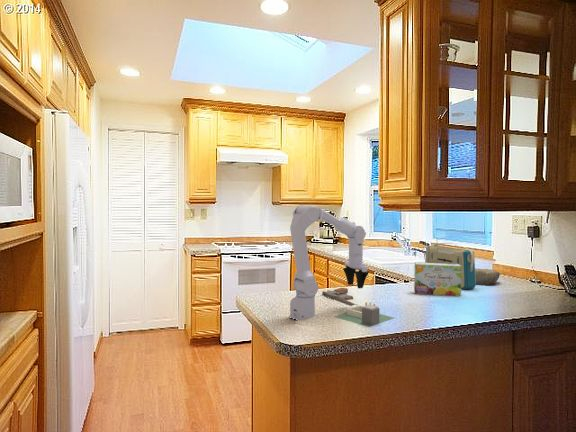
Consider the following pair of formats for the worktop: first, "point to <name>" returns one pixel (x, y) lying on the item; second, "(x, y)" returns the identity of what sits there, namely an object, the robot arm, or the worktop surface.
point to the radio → (454, 261)
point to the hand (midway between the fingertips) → (355, 286)
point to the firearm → (339, 295)
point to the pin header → (369, 304)
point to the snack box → (437, 279)
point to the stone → (486, 276)
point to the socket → (355, 311)
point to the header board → (359, 321)
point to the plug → (370, 315)
